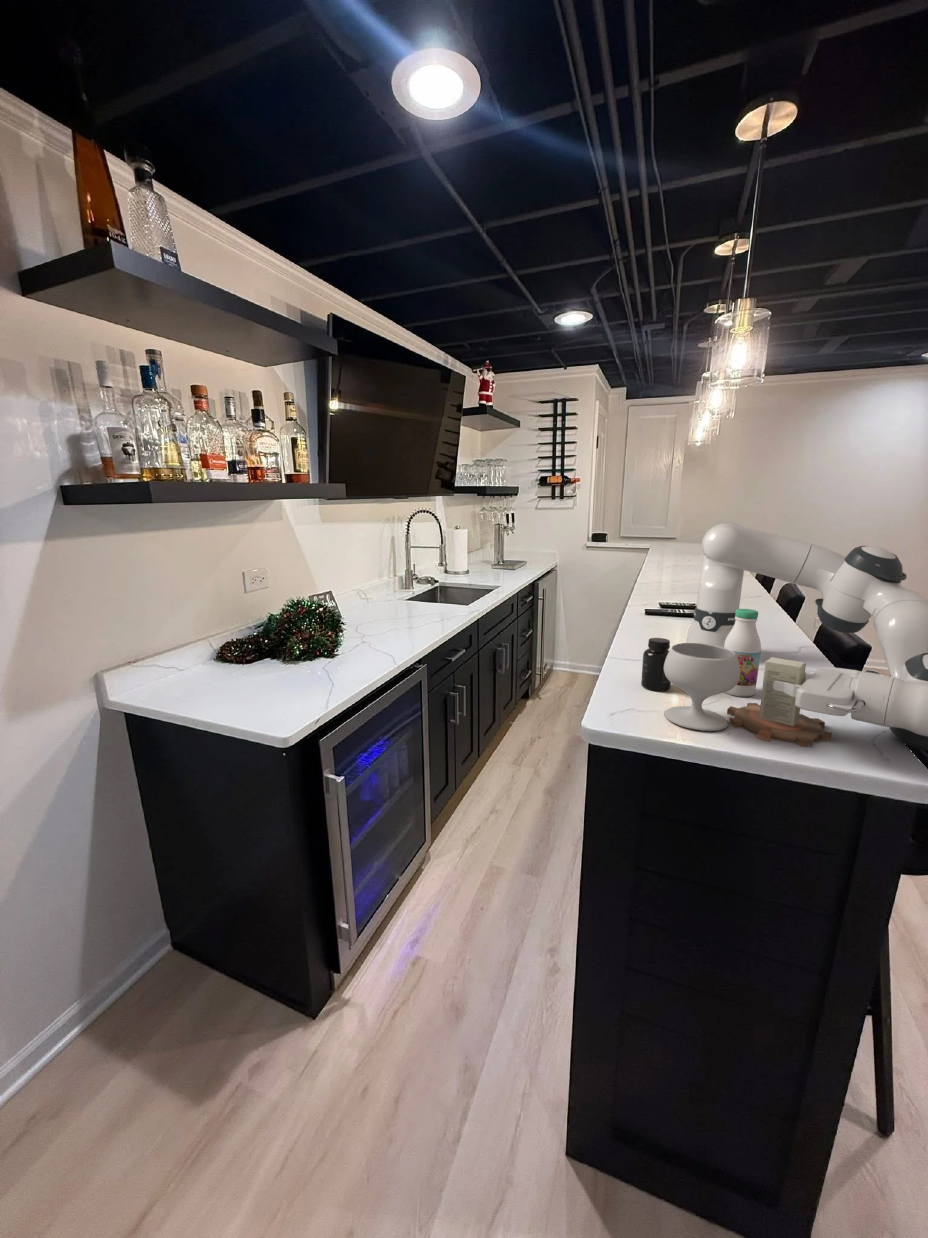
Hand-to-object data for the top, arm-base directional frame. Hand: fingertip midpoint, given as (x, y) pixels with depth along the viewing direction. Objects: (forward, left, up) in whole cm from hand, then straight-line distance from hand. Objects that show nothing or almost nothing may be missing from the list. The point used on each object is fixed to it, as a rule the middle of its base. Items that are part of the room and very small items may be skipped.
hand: (779, 679), depth 99 cm
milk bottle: (-15, -12, -10) cm, 21 cm away
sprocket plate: (0, 0, -10) cm, 10 cm away
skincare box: (0, +1, -8) cm, 9 cm away
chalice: (+9, -12, -10) cm, 18 cm away
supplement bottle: (-4, -27, -10) cm, 29 cm away
